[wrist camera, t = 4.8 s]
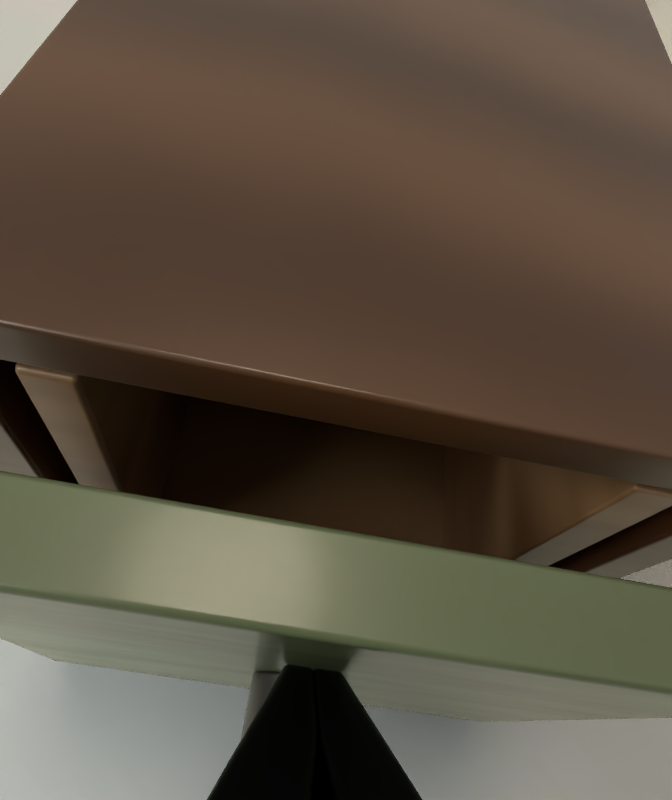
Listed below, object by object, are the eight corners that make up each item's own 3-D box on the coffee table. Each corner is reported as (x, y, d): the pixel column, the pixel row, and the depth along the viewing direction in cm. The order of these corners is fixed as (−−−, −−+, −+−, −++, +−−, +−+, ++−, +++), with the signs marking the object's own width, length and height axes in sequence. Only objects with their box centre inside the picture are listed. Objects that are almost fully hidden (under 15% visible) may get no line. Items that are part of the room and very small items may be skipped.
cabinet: (487, 627, 16) (853, 493, 7) (72, 560, 14) (-164, 290, 5) (476, 282, 23) (644, -5, 14) (199, 219, 22) (186, -137, 13)
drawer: (485, 780, 13) (854, 854, 5) (29, 720, 12) (-289, 710, 4) (473, 331, 20) (623, 99, 13) (191, 270, 19) (174, -21, 12)
